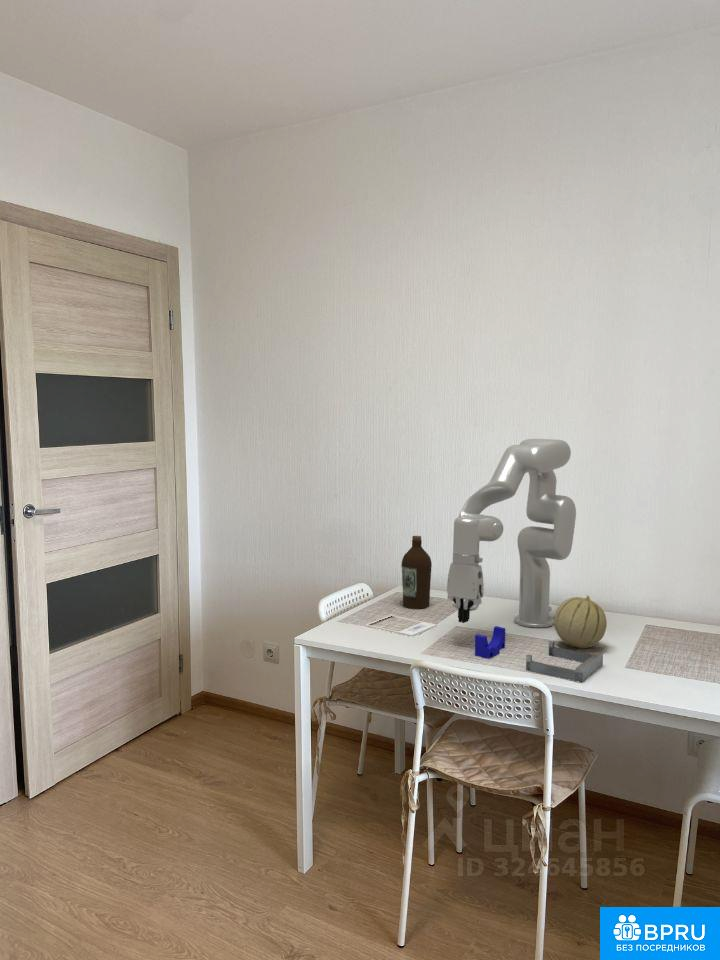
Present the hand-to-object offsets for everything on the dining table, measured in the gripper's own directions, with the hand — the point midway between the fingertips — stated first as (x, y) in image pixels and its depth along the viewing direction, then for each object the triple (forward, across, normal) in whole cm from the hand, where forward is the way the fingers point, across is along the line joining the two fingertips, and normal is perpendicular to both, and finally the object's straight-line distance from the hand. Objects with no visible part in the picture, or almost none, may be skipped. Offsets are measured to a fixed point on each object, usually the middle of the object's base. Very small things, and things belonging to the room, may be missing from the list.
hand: (463, 621), depth 213 cm
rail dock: (+7, -30, -1) cm, 31 cm away
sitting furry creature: (+7, +20, -39) cm, 44 cm away
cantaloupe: (+7, -27, -21) cm, 35 cm away
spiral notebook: (+8, +26, -6) cm, 28 cm away
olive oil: (+7, +36, -30) cm, 47 cm away
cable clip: (+8, -9, -1) cm, 12 cm away
